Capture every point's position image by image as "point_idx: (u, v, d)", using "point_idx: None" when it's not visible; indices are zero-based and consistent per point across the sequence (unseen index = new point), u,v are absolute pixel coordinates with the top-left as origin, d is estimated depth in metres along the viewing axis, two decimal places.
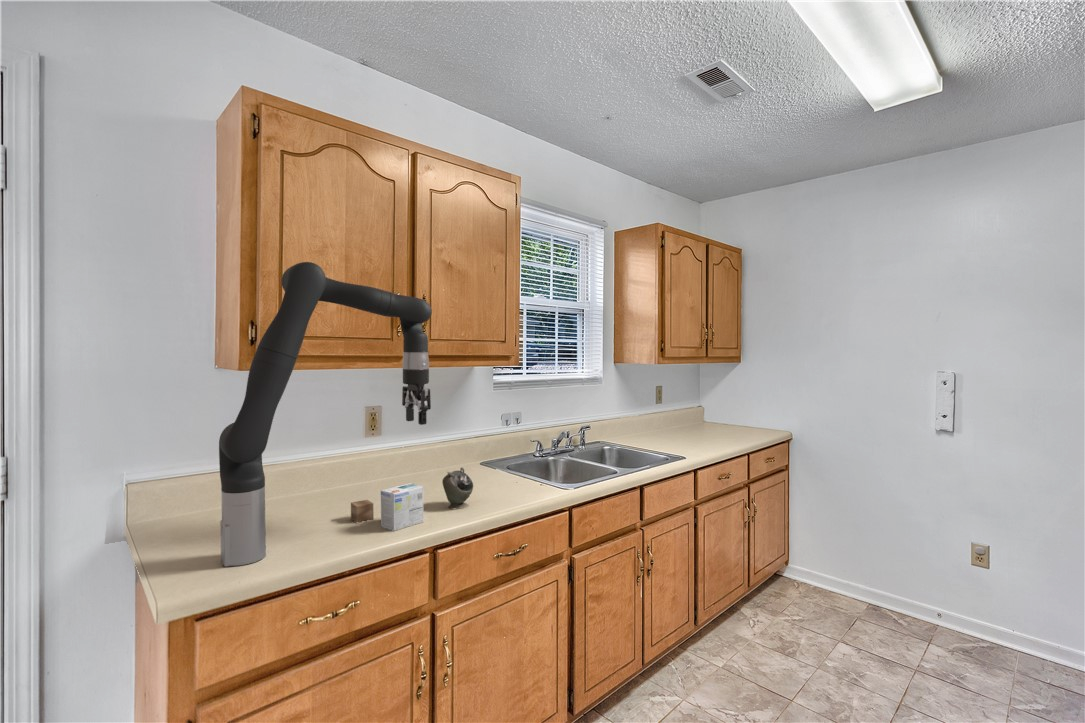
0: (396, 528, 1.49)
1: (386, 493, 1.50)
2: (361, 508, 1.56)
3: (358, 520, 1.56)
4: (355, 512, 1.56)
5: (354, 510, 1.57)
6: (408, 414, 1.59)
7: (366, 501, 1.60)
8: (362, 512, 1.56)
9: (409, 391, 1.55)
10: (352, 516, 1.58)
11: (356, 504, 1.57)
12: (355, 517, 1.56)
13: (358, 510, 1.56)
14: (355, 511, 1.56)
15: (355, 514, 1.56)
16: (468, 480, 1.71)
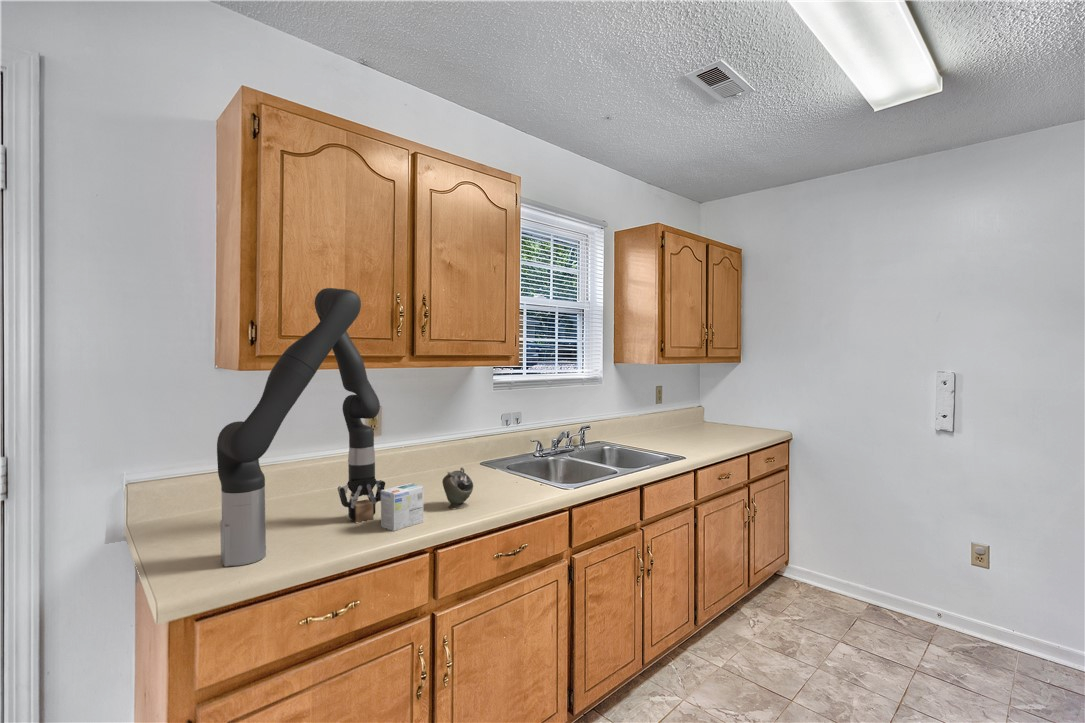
0: (396, 528, 1.49)
1: (386, 493, 1.50)
2: (361, 507, 1.56)
3: (358, 520, 1.56)
4: None
5: None
6: None
7: (366, 501, 1.60)
8: (362, 512, 1.56)
9: (361, 486, 1.57)
10: None
11: (356, 504, 1.57)
12: (355, 517, 1.56)
13: (358, 510, 1.56)
14: (355, 511, 1.56)
15: (355, 514, 1.56)
16: (468, 480, 1.71)
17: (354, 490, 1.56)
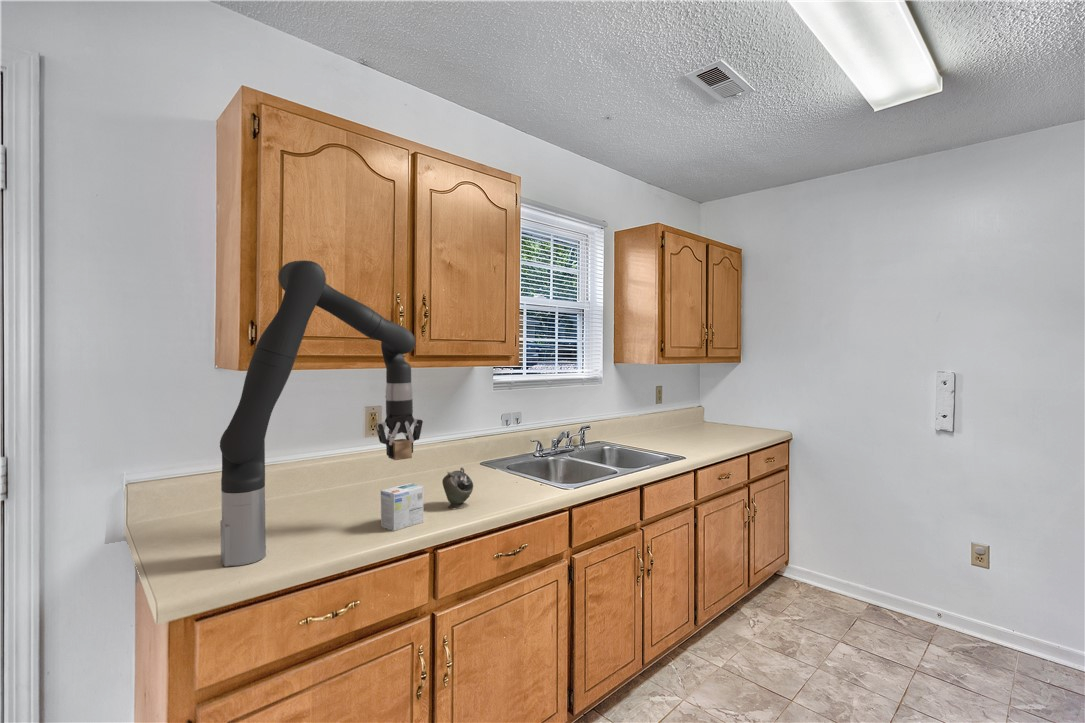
0: (396, 528, 1.49)
1: (386, 493, 1.50)
2: (399, 445, 1.52)
3: (397, 457, 1.52)
4: (393, 449, 1.52)
5: None
6: None
7: (404, 439, 1.56)
8: (400, 449, 1.52)
9: (399, 422, 1.53)
10: None
11: (394, 441, 1.53)
12: (394, 454, 1.52)
13: (396, 447, 1.51)
14: (393, 448, 1.52)
15: (393, 451, 1.52)
16: (468, 480, 1.71)
17: (392, 427, 1.52)
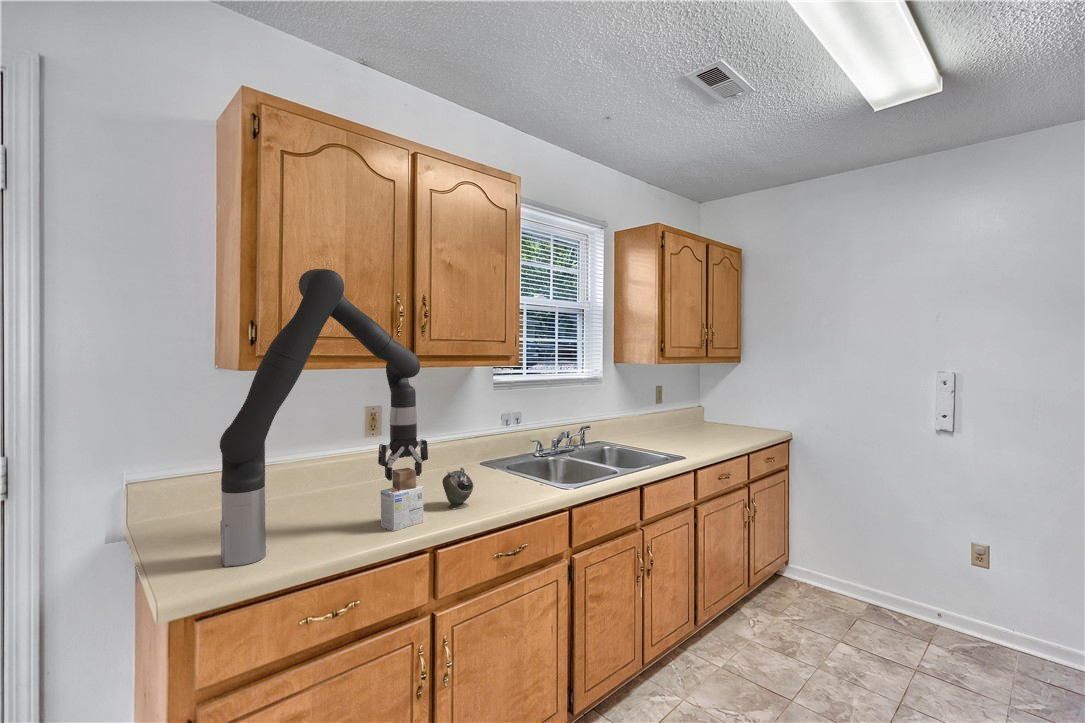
0: (396, 528, 1.49)
1: (386, 493, 1.50)
2: (404, 475, 1.52)
3: (401, 487, 1.51)
4: (397, 479, 1.52)
5: (396, 477, 1.52)
6: None
7: (408, 469, 1.56)
8: (405, 479, 1.52)
9: (403, 447, 1.52)
10: (394, 484, 1.54)
11: (398, 471, 1.53)
12: (398, 485, 1.51)
13: (401, 477, 1.51)
14: (397, 478, 1.52)
15: (398, 481, 1.52)
16: (468, 480, 1.71)
17: (395, 450, 1.51)
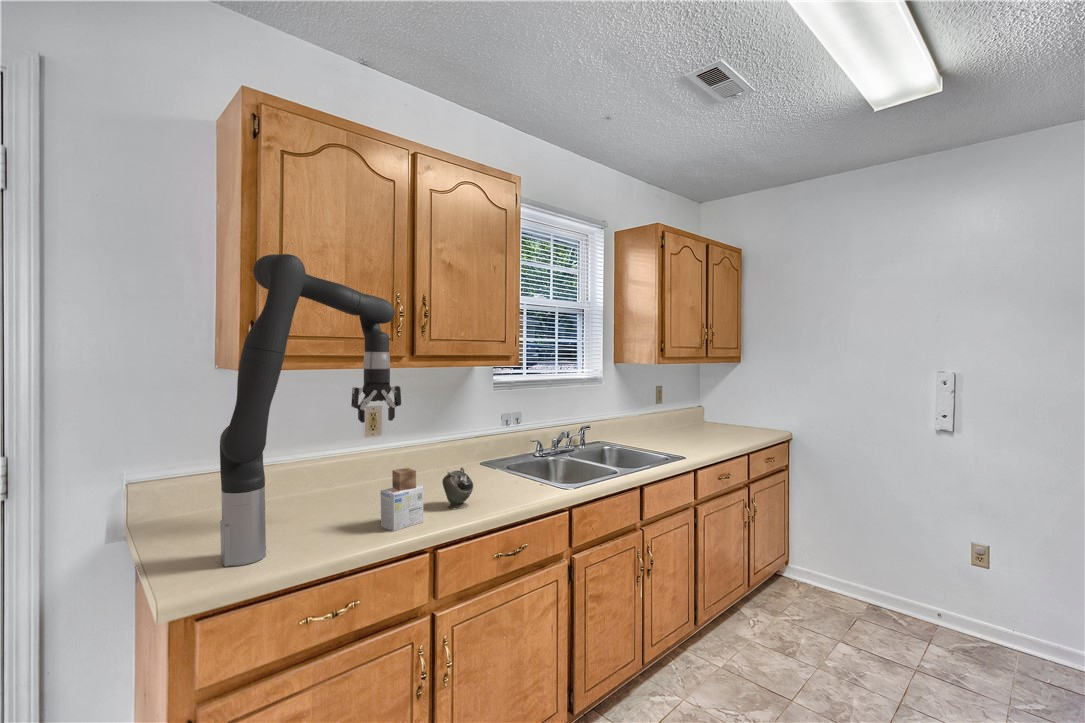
0: (396, 528, 1.49)
1: (386, 493, 1.50)
2: (404, 475, 1.52)
3: (401, 487, 1.51)
4: (397, 479, 1.52)
5: (396, 477, 1.52)
6: None
7: (408, 469, 1.56)
8: (405, 479, 1.52)
9: (376, 391, 1.57)
10: (394, 484, 1.54)
11: (398, 471, 1.53)
12: (398, 485, 1.51)
13: (401, 477, 1.51)
14: (397, 478, 1.52)
15: (398, 481, 1.52)
16: (468, 480, 1.71)
17: (368, 393, 1.56)
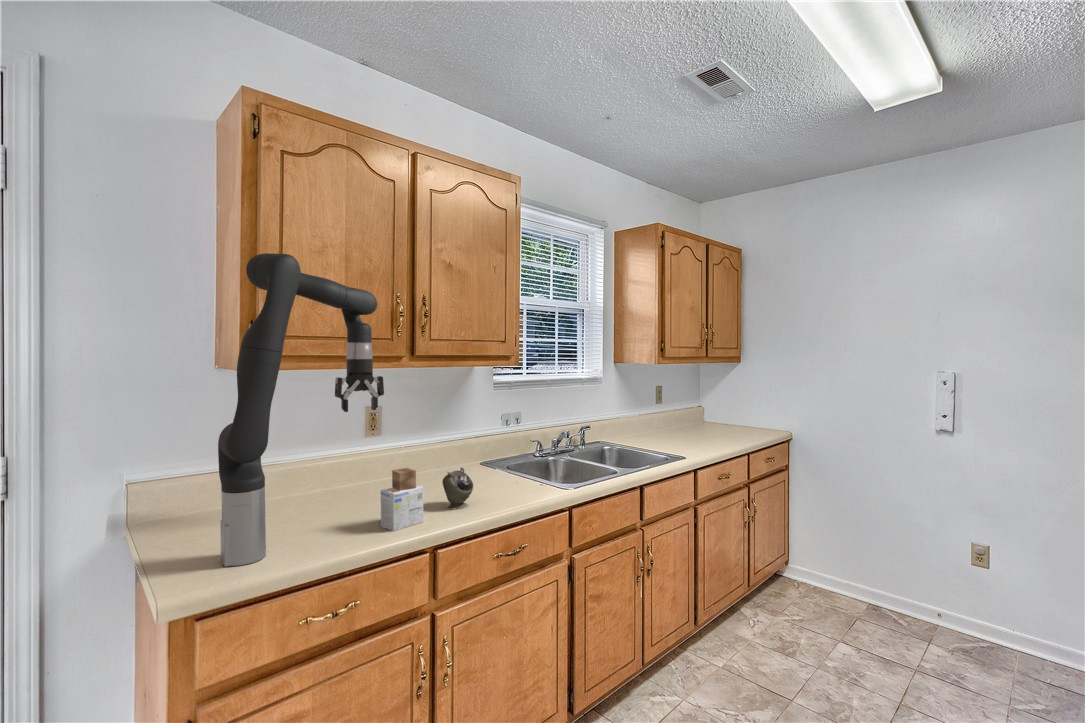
0: (396, 528, 1.49)
1: (386, 493, 1.50)
2: (404, 475, 1.52)
3: (401, 487, 1.51)
4: (397, 479, 1.52)
5: (396, 477, 1.52)
6: None
7: (408, 469, 1.56)
8: (405, 479, 1.52)
9: (359, 381, 1.60)
10: (394, 484, 1.54)
11: (398, 471, 1.53)
12: (398, 485, 1.51)
13: (401, 477, 1.51)
14: (397, 478, 1.52)
15: (398, 481, 1.51)
16: (468, 480, 1.71)
17: (351, 383, 1.59)
